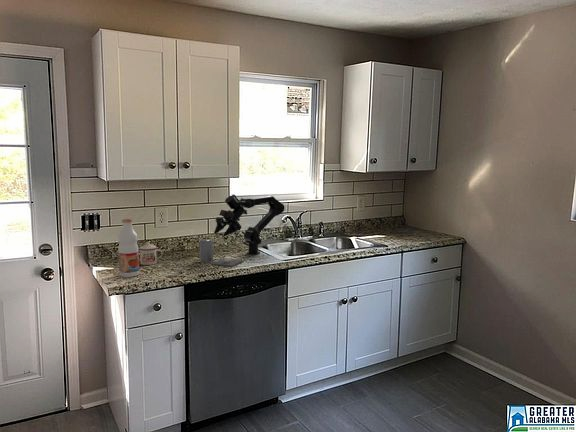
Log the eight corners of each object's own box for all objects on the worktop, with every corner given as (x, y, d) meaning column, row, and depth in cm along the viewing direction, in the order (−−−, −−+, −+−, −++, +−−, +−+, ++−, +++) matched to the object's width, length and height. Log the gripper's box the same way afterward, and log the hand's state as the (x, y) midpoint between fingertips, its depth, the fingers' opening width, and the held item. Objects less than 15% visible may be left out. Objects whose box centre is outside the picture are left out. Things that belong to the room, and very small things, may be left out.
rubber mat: (223, 259, 272) (223, 254, 271) (243, 261, 267) (243, 256, 266) (211, 264, 260) (211, 258, 259) (232, 267, 255) (232, 261, 254)
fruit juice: (125, 272, 243) (123, 217, 239) (142, 273, 241) (140, 218, 237) (115, 277, 234) (113, 220, 229) (133, 278, 232) (131, 221, 228)
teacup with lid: (140, 265, 256) (139, 244, 254) (139, 262, 264) (138, 241, 262) (163, 264, 260) (162, 243, 258) (161, 260, 268) (161, 240, 266)
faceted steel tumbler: (204, 259, 272) (203, 238, 270) (215, 260, 269) (215, 239, 267) (197, 262, 265) (196, 240, 263) (208, 263, 262) (208, 241, 261)
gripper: (218, 203, 278) (201, 222, 272) (238, 206, 265) (220, 227, 258) (229, 216, 284) (212, 235, 278) (248, 220, 271) (231, 240, 264)
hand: (219, 234), depth 269 cm, fingers open, 9 cm apart
